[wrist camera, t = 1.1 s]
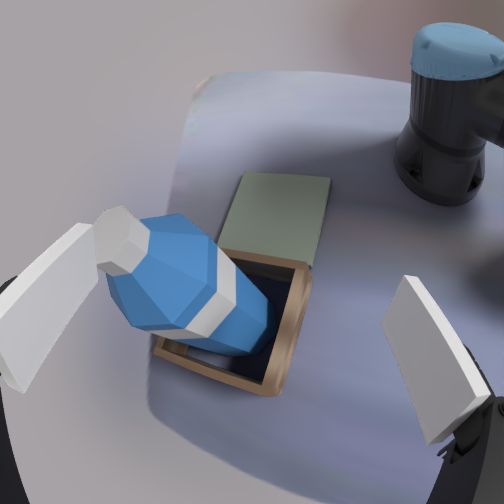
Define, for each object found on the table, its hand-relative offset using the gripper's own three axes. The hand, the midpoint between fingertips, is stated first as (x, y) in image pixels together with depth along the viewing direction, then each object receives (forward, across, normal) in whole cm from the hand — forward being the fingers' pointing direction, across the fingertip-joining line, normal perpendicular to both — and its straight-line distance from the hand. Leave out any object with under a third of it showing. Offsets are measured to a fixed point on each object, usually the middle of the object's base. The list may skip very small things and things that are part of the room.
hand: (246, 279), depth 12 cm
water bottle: (+20, +2, -20) cm, 28 cm away
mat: (+31, +4, -9) cm, 32 cm away
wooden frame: (+20, +2, -20) cm, 28 cm away
